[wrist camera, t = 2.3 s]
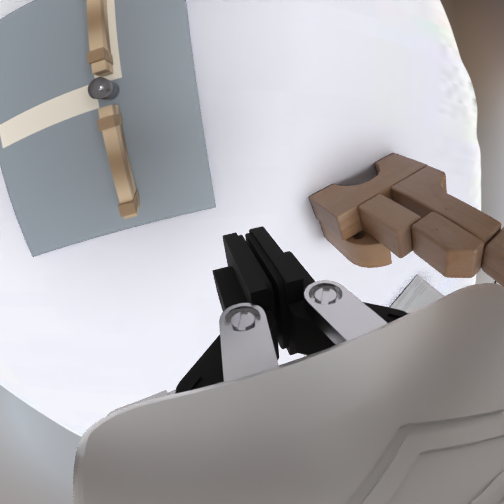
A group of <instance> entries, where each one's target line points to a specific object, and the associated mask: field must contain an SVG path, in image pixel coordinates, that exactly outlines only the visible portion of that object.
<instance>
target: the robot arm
mask: <svg viewBox="0 0 504 504" xmlns="http://www.w3.org/2000/svg"><path fill="white" fill-rule="evenodd" d="M245 237H246V241H245V239H244V237H243V236H242V235H239V236H238V235H237V233H232V234H228V235H224V236H223V242H224V247H225V253H226V258H227V263H228V267H225V268H220V269H216V270H213V275H214V280H215V284H216V288H217V292H218V296H219V300H220V303H221V307H222V310H223V313H222V314H221V316H220V321H219V324H220V335H219V336H218V337H217V338H216V340H215V341H214V342H213V343H212V344H211V346H210V347H209V348H208V349H207V350H206V352H205V353H204V354H203V355H202V356H201V358H200V359H199V360H198V361H197V362H196V363H195V365H194V366H193V367H192V368H191V369H190V370H189V372H188V373H187V374H186V375H185V376H184V378H183V379H182V380H181V381H180V383H179V384H178V386H177V388H176V390H174V391H171V392H169V393H167V391H166V390H165V391H162V392H160V393H157V394H155V395H152V396H150V397H147V398H145V399H142V400H140V401H137V402H134V403H132V404H129V405H126V406H124V407H121V408H118V409H115V410H114V411H112V412H110V413H109V414H108V415H107V416H106V417H104V418H102V419H101V420H99V421H98V422H96V423H95V424H94V425H92V426H91V427H90V428H89V429H88V430H87V431H86V432H85V433H84V434H83V436H82V438H81V440H80V442H79V445H78V447H77V451H76V456H75V464H74V475H73V499H74V504H504V287H503V286H501V285H498V284H493V283H483V284H475V285H471V286H467V287H464V288H462V289H459V290H457V291H455V292H453V293H451V294H448V295H446V296H444V297H442V298H440V299H438V300H436V301H434V302H432V303H430V304H428V305H426V306H423V307H419V308H415V309H410V310H408V312H407V313H406V312H405V311H402V310H399V309H394V308H389V307H384V306H379V305H374V304H369V303H364V302H362V301H361V300H359V299H358V298H357V297H356V296H355V295H353V294H352V293H351V292H350V291H348V290H347V289H346V288H345V287H344V286H342V285H341V284H339V283H337V282H334V281H328V280H322V281H317V282H315V281H314V280H313V278H312V277H311V276H310V275H309V273H308V272H307V271H306V270H305V269H304V267H303V266H302V265H301V264H300V262H299V261H298V260H297V259H296V258H295V256H294V255H293V254H292V253H291V252H290V251H288V252H283V251H282V250H281V249H280V247H279V246H278V245H277V243H276V242H275V241H274V240H273V238H272V237H271V236H270V235H269V233H268V232H267V231H266V229H265V228H264V227H258V228H254V229H250V230H249V233H248V234H246V235H245ZM278 343H279V345H280V347H281V348H282V349H284V348H287V350H288V352H289V354H290V355H293V354H296V353H301V354H304V357H303V358H300V359H297V360H294V361H291V362H288V363H285V364H282V365H278V361H277V360H278V359H279V350H278Z"/></svg>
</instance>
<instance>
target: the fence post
mask: <svg viewBox="0 0 504 504" xmlns="http://www.w3.org/2000/svg"><path fill="white" fill-rule="evenodd" d="M119 90H120V89H119V86H118V84H117V83H115V82H113V81H110V80H108V79H106V78H104V77H97V78H95V79H93V80H92V81H91V82H90V84H89V86H88V94H89V96H90V97H91V98H93V99H101V100H113V99H114V98H116V97H117V96H118V94H119Z"/></svg>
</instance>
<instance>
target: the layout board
mask: <svg viewBox="0 0 504 504" xmlns="http://www.w3.org/2000/svg"><path fill="white" fill-rule="evenodd" d="M107 14H108V28H109V39H110V49H111V54H112V57H113V65H112V66H113V74H110V75H107V76H104V78H106V79H108V80H110V81H113V82H115V83H117V84H118V86H119V89H120V90H119V94H118V96H117V97H116V98H114V99H113V100H101V99H93V98H91V97H90V96H89V94H88V86H89V84H90V82H91V81H92V80H93V79H95V78H97V77H100V76H97V75H95V74H92V66H91V64H89V63H88V59H87V52H89V51H90V48H89V36H88V22H87V0H34V1H32V2H30V3H28V4H26V5H24V6H22V7H21V8H19V9H17V10H15V11H14V12H12V13H10V14H8V15H7V16H5V17H3V18H2V19H0V166H1V170H2V174H3V177H4V181H5V184H6V188H7V191H8V194H9V197H10V200H11V203H12V206H13V209H14V212H15V215H16V217H17V220H18V223H19V225H20V228H21V231H22V233H23V235H24V238H25V240H26V243H27V245H28V247H29V250H30V252H31V254H32V256H33V257H34V256H37V255H40V254H43V253H47V252H50V251H53V250H56V249H59V248H63V247H66V246H69V245H72V244H76V243H79V242H83V241H86V240H89V239H93V238H96V237H100V236H103V235H107V234H111V233H114V232H118V231H122V230H125V229H129V228H133V227H136V226H140V225H144V224H148V223H152V222H156V221H160V220H164V219H168V218H172V217H176V216H180V215H184V214H189V213H193V212H197V211H202V210H206V209H210V208H215V207H216V204H215V199H214V193H213V187H212V181H211V175H210V169H209V163H208V157H207V150H206V144H205V138H204V131H203V125H202V118H201V112H200V105H199V98H198V91H197V84H196V77H195V70H194V62H193V55H192V47H191V39H190V31H189V23H188V14H187V6H186V0H107ZM109 105H119V111H120V114H121V116H122V122H123V124H122V127H123V132H124V137H125V142H126V147H127V151H128V156H129V160H130V165H131V169H132V173H133V177H134V181H135V185H136V189H138V193H139V197H140V200H139V201H140V206H139V210H138V215H137V216H135V217H131V218H127V219H124V217H121V216H120V212H119V209H118V205H119V203H120V202H119V198H118V195H117V191H116V187H115V184H114V180H113V176H112V172H111V168H110V164H109V160H108V155H107V151H106V147H105V142H104V138H103V133H102V131H99V129H98V124H97V120H98V119H100V118H99V112H98V109H99V108H102V107H105V106H109Z"/></svg>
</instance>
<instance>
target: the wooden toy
mask: <svg viewBox="0 0 504 504" xmlns="http://www.w3.org/2000/svg"><path fill="white" fill-rule="evenodd" d="M375 166H376V170H377V174H378V175H377V176H376V177H374V178H373V179H371V180H369V181H367V182H364V183H362V184H358V185H352V186H339V185H336V184H332V185H330V186H328V187H326V188H324V189H323V190H321V191H319V192H317V193H315V194H313V195H311V196H310V197H309V199H310V202H311V204H312V207H313V210H314V213H315V216H316V218H317V219H318V220H319V221H320V224H321V227H322V230H323V233H324V236H325V238H326V239H327V240H328V241H329V242H330V243H331V244H332V245H333V246H334V247H335V248H336V249H338V250H339V251H340V252H341V253H342V254H343V255H344V256H345V257H346V258H347V259H348V260H349V261H351V262H352V263H353V264H355V265H358V266H361V267H367V268H373V267H381V266H386V265H389V264H391V263H392V261H391V253H390V251H391V252H393V253H394V254H395V255H396V256H398V257H399V258H403V257H404V256H406V255H407V254H409V253H410V252H411V251H414V253H415V254H416V255H418V256H419V257H420V258H422V259H423V260H424V261H426V262H427V263H428V264H429V265H431V266H432V267H433V268H435V269H436V270H437V271H438V272H440V273H441V274H442V275H443V276H445V277H449V278H472V277H473V276H474V275H475V274H476V273H477V272H479V270H480V268H482V270H483V271H484V272H485V273H487V274H488V275H489V276H490V277H492V278H493V279H494V280H495V281H497V282H498V283H499V284H500V285H502V286H503V287H504V228H502V229H501V223H500V222H499V221H497V220H495V219H493V218H492V217H490V216H488V215H487V214H485V213H483V212H481V211H480V210H478V209H476V208H474V207H472V206H470V205H468V204H467V203H465V202H463V201H461V200H459V199H457V198H455V197H453V196H451V195H449V194H447V190H446V176H445V173H444V172H442V171H440V170H438V169H435V168H433V167H430V166H428V165H426V164H423V163H421V162H418V161H415V160H413V159H410V158H407V157H404V156H402V155H399V154H396V153H392V154H390V155H389V156H387V157H385V158H383V159H381V160H379V161H377V162H375Z"/></svg>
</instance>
